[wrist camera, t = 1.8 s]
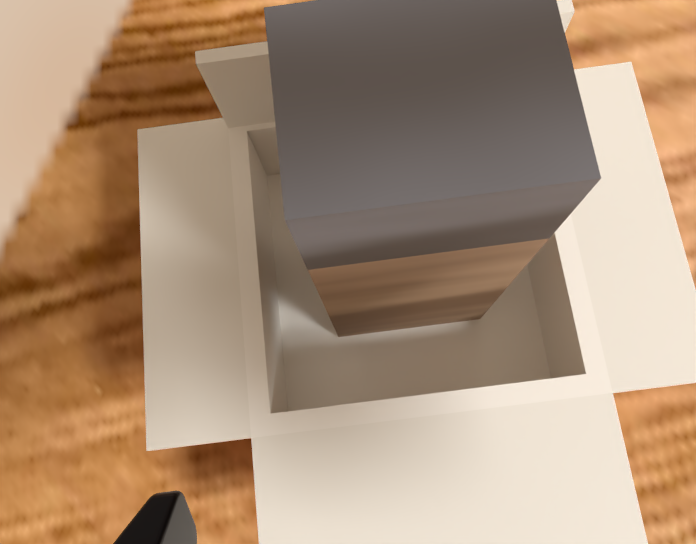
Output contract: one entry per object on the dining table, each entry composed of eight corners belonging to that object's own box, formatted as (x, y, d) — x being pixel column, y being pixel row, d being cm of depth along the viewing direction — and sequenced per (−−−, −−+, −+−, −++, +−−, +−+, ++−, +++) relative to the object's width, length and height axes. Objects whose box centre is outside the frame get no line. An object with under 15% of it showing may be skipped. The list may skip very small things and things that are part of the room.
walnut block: (480, 318, 21) (601, 177, 9) (338, 337, 21) (284, 220, 9) (460, 212, 22) (548, -33, 10) (326, 230, 22) (263, 7, 11)
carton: (688, 513, 19) (870, 562, 12) (196, 573, 20) (88, 653, 13) (589, 123, 23) (683, -18, 16) (177, 179, 24) (86, 66, 16)
